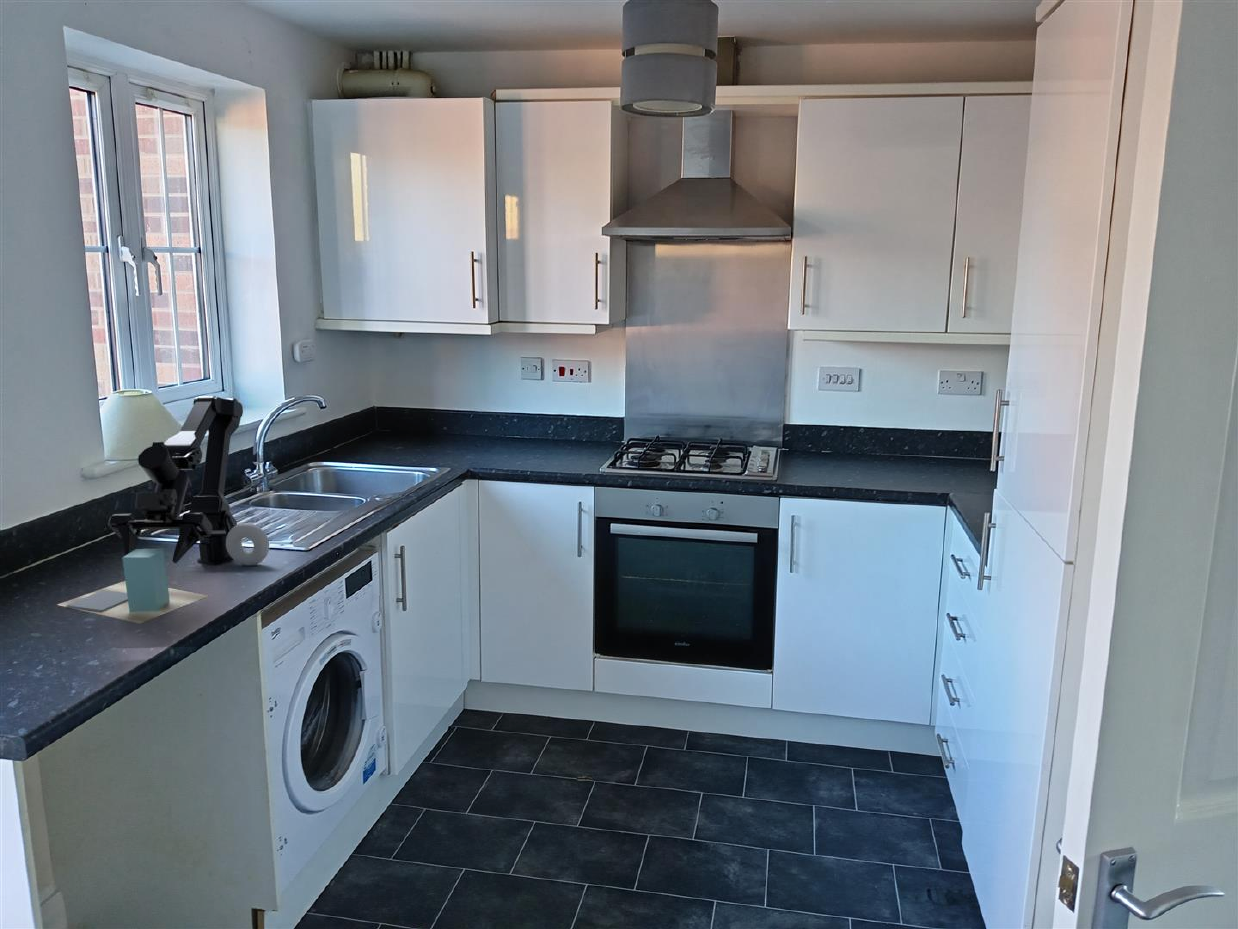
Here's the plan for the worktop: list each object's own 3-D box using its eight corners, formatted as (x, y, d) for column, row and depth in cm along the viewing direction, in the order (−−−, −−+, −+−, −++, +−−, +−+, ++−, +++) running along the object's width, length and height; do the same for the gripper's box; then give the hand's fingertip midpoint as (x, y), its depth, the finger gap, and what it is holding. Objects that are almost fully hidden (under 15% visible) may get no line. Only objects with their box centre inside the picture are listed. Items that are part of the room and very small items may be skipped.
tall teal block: (142, 601, 188) (135, 549, 186) (169, 601, 188) (163, 548, 186) (129, 611, 183) (122, 557, 180) (157, 611, 183) (150, 557, 180)
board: (128, 586, 201) (127, 573, 201) (209, 602, 191) (208, 588, 191) (57, 611, 187) (55, 597, 187) (140, 631, 177) (138, 616, 176)
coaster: (104, 591, 194) (103, 590, 194) (138, 596, 191) (138, 594, 191) (66, 607, 186) (66, 605, 185) (102, 612, 183) (101, 610, 183)
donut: (225, 567, 213) (220, 524, 211) (232, 562, 216) (228, 520, 214) (267, 568, 212) (263, 525, 210) (274, 563, 216) (270, 521, 213)
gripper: (106, 475, 188) (84, 544, 179) (200, 473, 188) (182, 542, 180) (130, 503, 197) (110, 570, 189) (220, 502, 197) (204, 569, 189)
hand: (150, 562), depth 186 cm, fingers open, 9 cm apart
